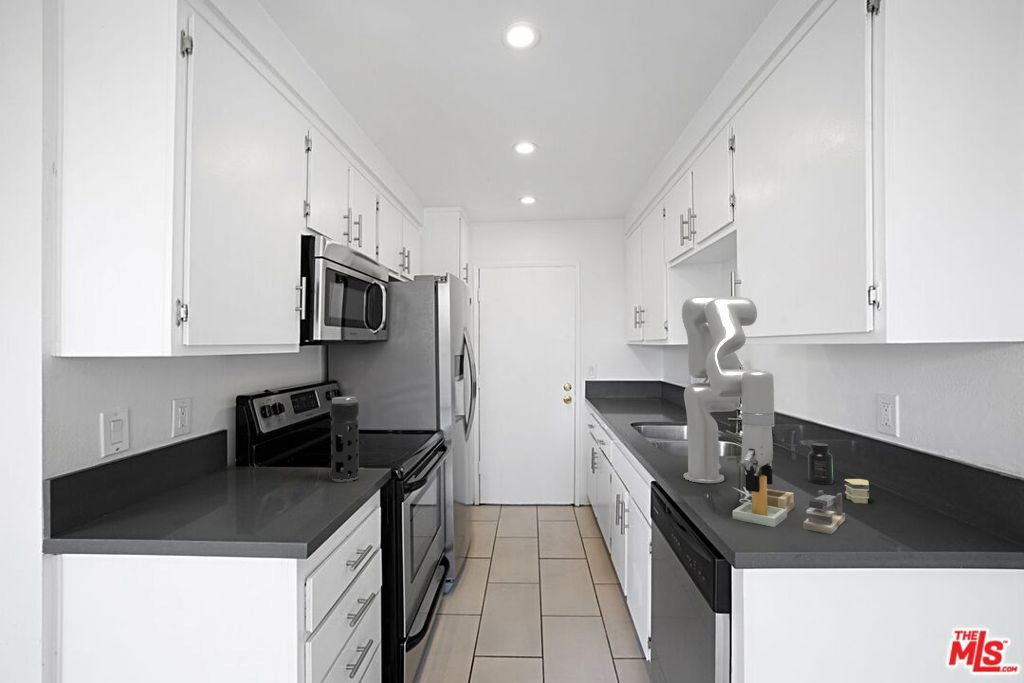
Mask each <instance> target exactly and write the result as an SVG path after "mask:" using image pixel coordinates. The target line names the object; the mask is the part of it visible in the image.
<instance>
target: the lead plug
mask: <svg viewBox="0 0 1024 683" xmlns="http://www.w3.org/2000/svg"><path fill="white" fill-rule="evenodd" d="M758 476H759V478H760V491H759V492H753V491H751V494H752V497H751V503H752V513H753V514H758V515H764V516H768V507H767V489H768V484H767V476H765V475H761V468H759V472H758Z"/></svg>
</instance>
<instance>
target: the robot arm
mask: <svg viewBox="0 0 1024 683" xmlns="http://www.w3.org/2000/svg"><path fill="white" fill-rule="evenodd" d="M757 310H758V309H757V307H756V304H755V303H754V301H753V300H751V298H748V297H743V296H734V295H733V296H732V295H729V296H728V295H717V296H715V295H712V296H711V295H710V296H694V297H690V298H688V299H686V300H685V301H684V302H683V304H682V307H681V319H682V323H683V326H684V329H685V332H686V336H687V338H686V339H687V366H688V368H687V369H688V372H689V375H690V376H691V377H692V378H695V379H708V382H693V383H691V384H689V385H687V386H685V389H684V390H683V391H684V392H683V399H684V406H685V411H686V422H687V468H688V471H687V472H684V473H683V479H684V478H685V479H684V480H686V481H688V480H689V482H693V483H698V484H699V483H700V484H718V483H722V482H724V481H725V476H724V475H722V473H721V474H720V469H722V465H721V463H719V462H720V457H719V455H720V454H719V450H720V449H719V448H720V447H719V426H718V423H717V421H716V419H714V417H713V416H712V415H711V413H714V412H717V413H718V412H733V411H736V410H737V409H738V408H739V407H740V403H741V425H742V426H743V428H742V436H741V437H742V438H741V464H742V465H744V467H743V468H744V475H745V480H744V481H745V488H746V490H747V491H748V492H752V491H753V492H759V491H760V478H759V476H758V472H759V468H761V475H765V476H767V485H772V484H773V463H772V461H773V459H774V440H773V430H772V428H773V427H775V388H774V386H775V385H774V380H775V379H774V375H773V373H772V372H770V371H766V370H765V371H763V370H761V369H756V368H755V369H754V368H746V369H745V368H744V369H742V368H741V367H740V366H741V365H740V364H741V363H740V361H739V357H738V354H737V353H736V352H737V351H738V350H740V349H741V348H742V347H743V346H744V345H745V343H746V339H747V337H746V334H745V333H744V330H743V327H744V326H745V327H748V326H752V325H754V323H755V322H756V320H757V318H758V311H757ZM742 326H743V327H742Z"/></svg>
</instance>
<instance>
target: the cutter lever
mask: <svg viewBox="0 0 1024 683" xmlns="http://www.w3.org/2000/svg"><path fill="white" fill-rule="evenodd" d="M835 504H836V495H830V494H829V495H828V494H823V495H822V496H819V497H817V496H816V497H815V498H813V499H810V500H809V508H815V509H824V510H826V509H827V508H828V507H831V506H832V505H835Z"/></svg>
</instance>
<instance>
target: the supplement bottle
mask: <svg viewBox="0 0 1024 683" xmlns="http://www.w3.org/2000/svg"><path fill="white" fill-rule="evenodd" d="M810 445H811V448H810V449H811V451H809V453H808V454H807V465H808V466H807V467H808V468H807V470H808V471H807V472H808V473H807V474H808V476H807V477H808V482H809V483H812V484H815V485H823V486H826V485H827V486H828V485H829V486H830V485H832V484H833V483H834V464H833V462H834V461H833V455H832V454H831V453H830V452H829V451H830V449H829V448H830V446H829V444H826V443H823V442H822V443H821V442H820V443H819V442H815V443H811V444H810Z"/></svg>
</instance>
